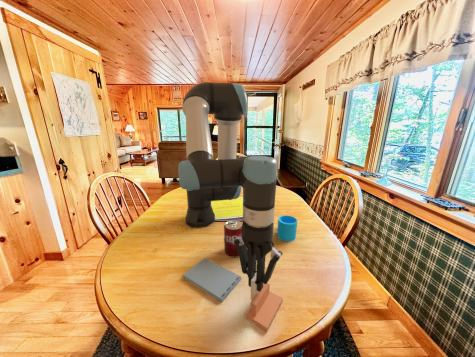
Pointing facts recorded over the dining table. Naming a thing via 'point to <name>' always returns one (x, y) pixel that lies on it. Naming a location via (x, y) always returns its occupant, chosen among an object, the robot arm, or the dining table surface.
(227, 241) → the soda can
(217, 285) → the ticket
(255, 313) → the stub
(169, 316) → the dining table surface
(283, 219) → the mug
